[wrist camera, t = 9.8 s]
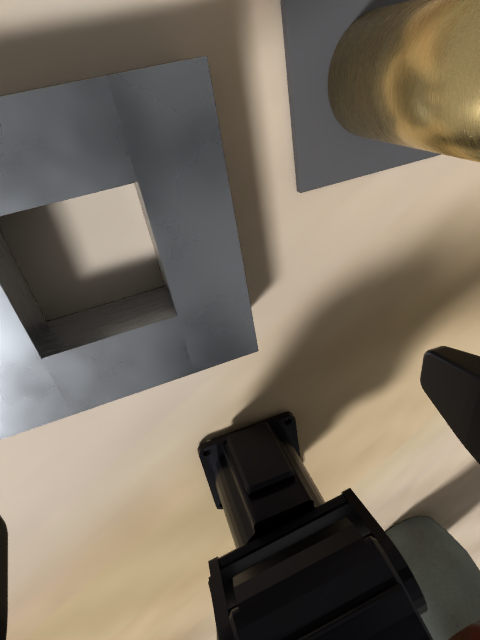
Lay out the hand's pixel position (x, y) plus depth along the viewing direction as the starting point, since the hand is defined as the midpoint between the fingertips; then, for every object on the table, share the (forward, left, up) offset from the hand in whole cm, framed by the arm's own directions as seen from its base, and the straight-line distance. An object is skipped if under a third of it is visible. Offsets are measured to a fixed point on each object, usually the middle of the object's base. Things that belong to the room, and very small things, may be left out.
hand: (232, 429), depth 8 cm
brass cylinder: (+4, -11, -12) cm, 17 cm away
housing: (0, +3, -12) cm, 13 cm away
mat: (+4, -11, -12) cm, 17 cm away
